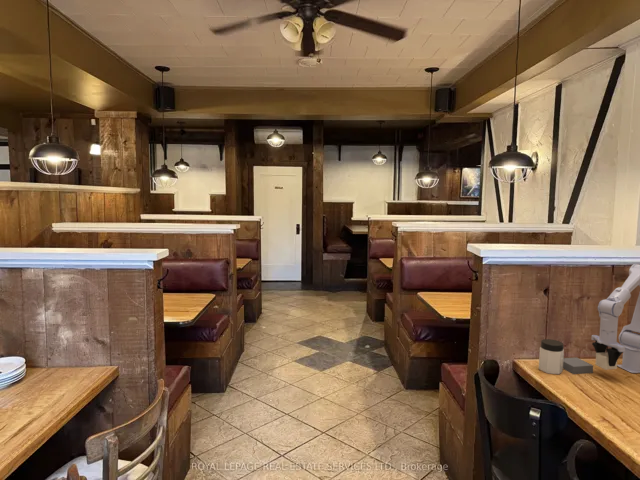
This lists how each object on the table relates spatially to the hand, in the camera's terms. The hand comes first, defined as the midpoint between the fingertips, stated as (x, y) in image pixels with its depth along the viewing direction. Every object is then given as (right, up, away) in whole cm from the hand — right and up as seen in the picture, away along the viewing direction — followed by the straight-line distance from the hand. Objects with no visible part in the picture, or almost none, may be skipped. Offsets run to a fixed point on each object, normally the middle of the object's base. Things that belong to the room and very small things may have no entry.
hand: (606, 363), depth 167 cm
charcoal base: (-8, -5, +8) cm, 12 cm away
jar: (-19, -5, +6) cm, 21 cm away
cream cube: (0, -2, 0) cm, 2 cm away
